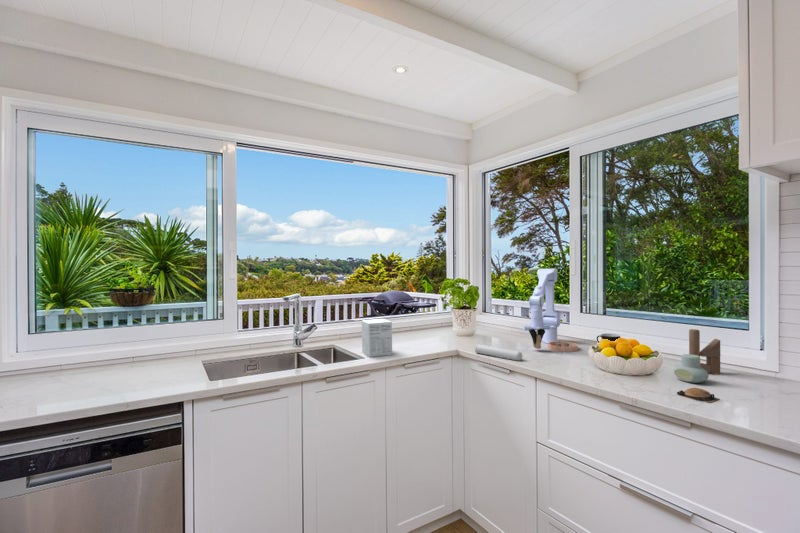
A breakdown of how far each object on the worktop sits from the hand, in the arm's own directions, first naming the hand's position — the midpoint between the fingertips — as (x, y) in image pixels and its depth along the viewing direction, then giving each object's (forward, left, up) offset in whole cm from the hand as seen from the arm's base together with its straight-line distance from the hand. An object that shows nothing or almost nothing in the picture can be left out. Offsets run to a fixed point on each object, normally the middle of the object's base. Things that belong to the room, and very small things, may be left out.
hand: (537, 343), depth 209 cm
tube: (+10, -24, -5) cm, 26 cm away
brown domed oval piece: (+74, +26, -5) cm, 79 cm away
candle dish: (-4, +16, -4) cm, 17 cm away
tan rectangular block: (0, 0, -2) cm, 2 cm away
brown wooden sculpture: (+47, +52, -4) cm, 70 cm away
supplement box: (-6, -85, -4) cm, 85 cm away
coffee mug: (+11, +33, -4) cm, 35 cm away
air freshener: (+57, +38, -4) cm, 69 cm away
